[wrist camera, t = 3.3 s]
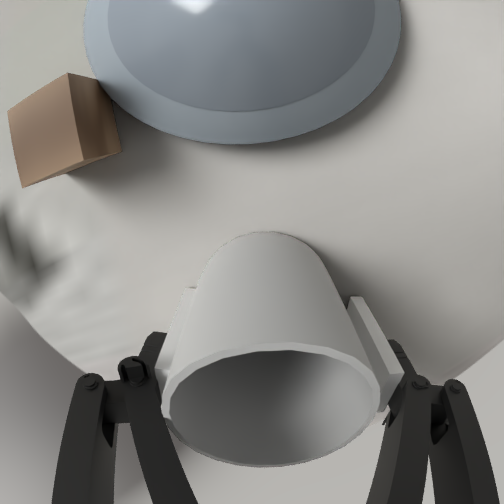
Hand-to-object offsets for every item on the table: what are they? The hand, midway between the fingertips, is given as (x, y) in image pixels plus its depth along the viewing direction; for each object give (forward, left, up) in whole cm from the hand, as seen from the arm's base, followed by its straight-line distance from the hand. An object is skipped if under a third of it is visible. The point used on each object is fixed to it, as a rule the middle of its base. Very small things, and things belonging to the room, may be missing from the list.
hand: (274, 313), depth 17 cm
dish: (-17, -3, 0) cm, 17 cm away
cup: (0, 0, -1) cm, 1 cm away
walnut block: (-10, -11, 0) cm, 15 cm away
